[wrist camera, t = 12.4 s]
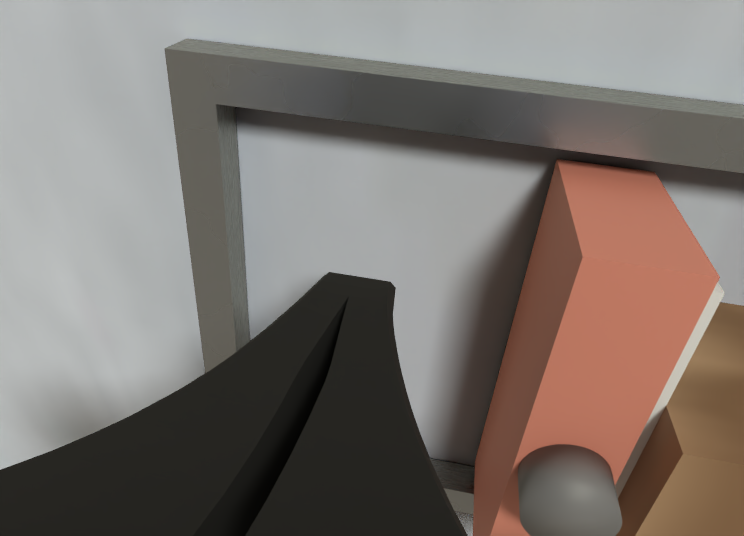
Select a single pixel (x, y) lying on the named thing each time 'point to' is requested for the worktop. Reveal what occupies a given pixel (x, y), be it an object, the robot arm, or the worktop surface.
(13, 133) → the worktop surface
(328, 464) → the robot arm
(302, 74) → the vise body
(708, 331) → the walnut block
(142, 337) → the worktop surface
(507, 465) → the free jaw
